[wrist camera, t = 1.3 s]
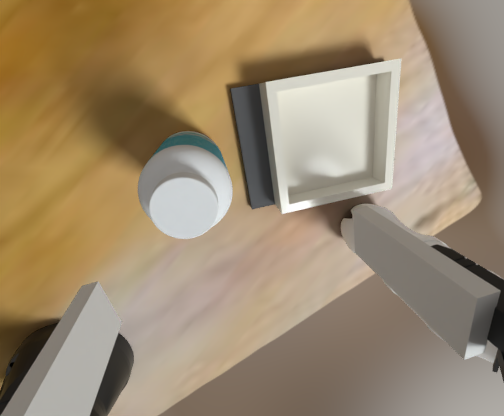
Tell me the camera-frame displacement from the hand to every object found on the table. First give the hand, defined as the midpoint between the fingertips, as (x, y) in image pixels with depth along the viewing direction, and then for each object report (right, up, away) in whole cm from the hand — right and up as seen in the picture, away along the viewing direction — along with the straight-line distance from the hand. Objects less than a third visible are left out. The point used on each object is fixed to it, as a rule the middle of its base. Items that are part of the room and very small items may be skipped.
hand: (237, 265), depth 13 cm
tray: (+9, +11, +17) cm, 23 cm away
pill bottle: (-6, +8, +17) cm, 20 cm away
